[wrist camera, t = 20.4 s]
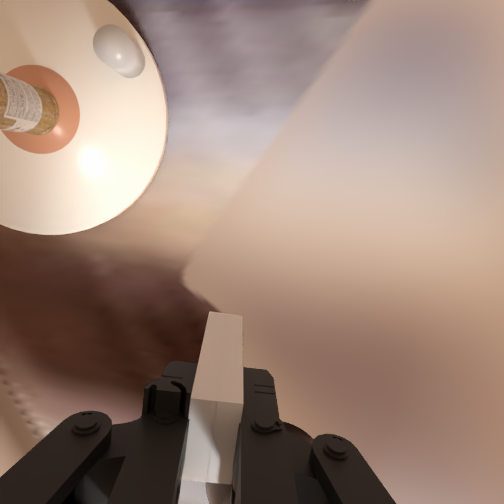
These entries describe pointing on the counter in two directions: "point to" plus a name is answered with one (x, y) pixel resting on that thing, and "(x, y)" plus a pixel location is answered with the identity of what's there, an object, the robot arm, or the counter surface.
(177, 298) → the counter surface
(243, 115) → the counter surface
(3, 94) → the sprinkles bottle
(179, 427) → the robot arm
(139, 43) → the disc
